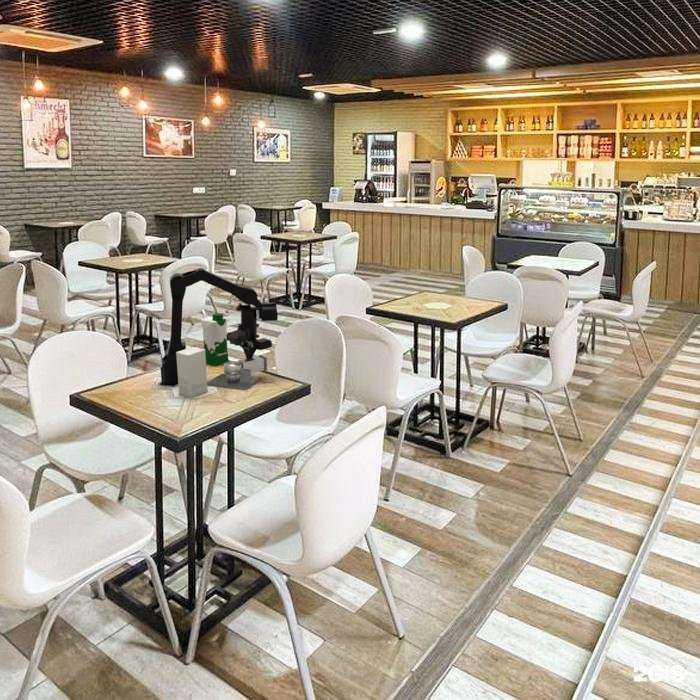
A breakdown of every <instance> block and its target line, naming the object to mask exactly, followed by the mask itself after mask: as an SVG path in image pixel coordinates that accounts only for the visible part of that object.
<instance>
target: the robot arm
mask: <svg viewBox="0 0 700 700" xmlns="http://www.w3.org/2000/svg"><path fill="white" fill-rule="evenodd" d="M201 281H202V282H205V283H207V284H209V285H211V286H213V287H215V288H218V289H220V290H222V291H224V292H226V293H229V294H231V295H232V296H233V297H235V298H236V299H238V300H239V301H240V302H238V305H236V306H235V307H234V308H235V310H236V311H237V312H239V311H240V323H238V325H237V329H236V330H233V331H230V332H227V342H229V343H230V345H234V346H238V347H240V348H242V351H243V353H244V355H245V357H246V358H245V359H248V358H253V357H254V355H255V352H256V351H257V350H258V351H263V350H267V349H270V348H273V347H272V346H273V341H272V340H271V339H268V338H265V337H263V338H260V335H259V334H258V328H259V327H260V323H257V322H258V321H257V319H260V321H261V322H277V321H278V320H279V319H278V316H279V314H278V308H277V303H276V302H275V301H273V302H272V301H271V302H262V301H261V300H260V299H258V294H257V293H258V292H256V290H255V289H254V288H253V287H251V286H249V285H244V284H240V283H239V284H238V283H235V282H233V281H230V280H228V279H226V278H224V277H221V276H219V275H216V274H215V273H213V272H210V271H208V270H206V269H205V268H203V267H198V268H196V269H194V270H189V271H186V272H183V273H179V272H176V273H173V274H172V275H171V276H170V277H169V287H170V288H169V289H170V293H171V294H170V296H171V320H170V337H169V342H168V346H167V348H166V349H167V350H166V354H165V355H164V356H163V357H162V358H161V366H160V367H159V369H160V378H161V381H160V382H159V383H158V385H159V386H167V387H168V386H169V387H176V386H178V371H177V356H176V352H178V351H182V350H185V349H187V348H186V347H187V345H186V342H185V341H182V328H183V327H182V325H183V304H184V303H183V301H184V298H185V295H186V292H187V291H186V290H187V287H191V286H192V285H195V284H196V283H199V282H201ZM241 302H242V303H244V304H242V303H241Z"/></svg>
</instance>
